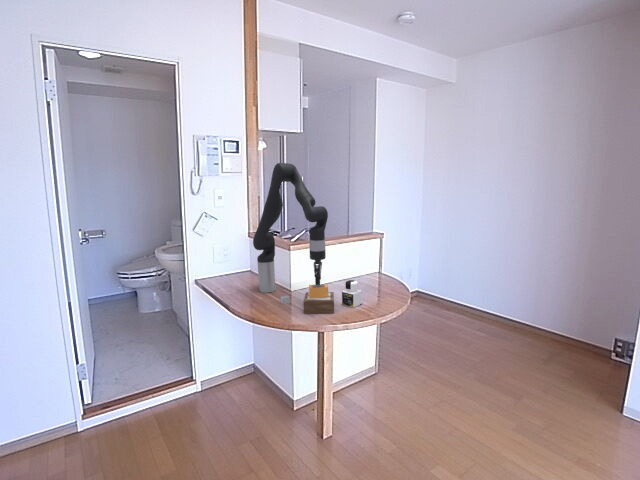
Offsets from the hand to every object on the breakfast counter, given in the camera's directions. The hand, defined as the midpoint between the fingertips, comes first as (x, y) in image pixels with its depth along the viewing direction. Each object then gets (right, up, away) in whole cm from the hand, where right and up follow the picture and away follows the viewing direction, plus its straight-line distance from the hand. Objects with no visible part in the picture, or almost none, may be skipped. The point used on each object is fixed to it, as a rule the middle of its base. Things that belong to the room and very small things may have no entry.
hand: (318, 282), depth 180 cm
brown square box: (+1, -13, +2) cm, 13 cm away
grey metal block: (-17, -12, +13) cm, 24 cm away
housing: (0, -7, +1) cm, 7 cm away
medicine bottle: (+17, -12, +6) cm, 22 cm away
